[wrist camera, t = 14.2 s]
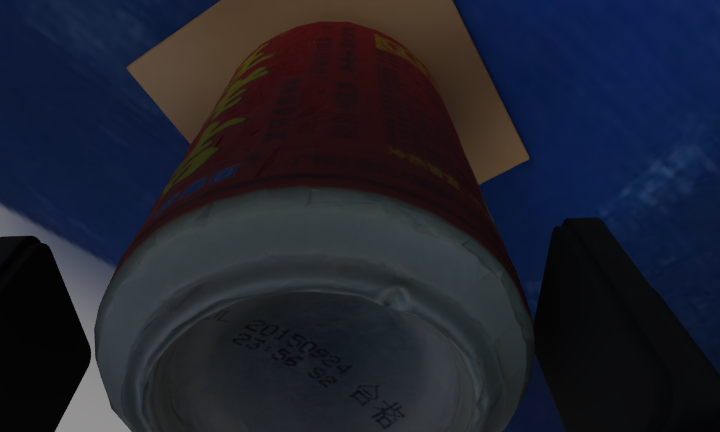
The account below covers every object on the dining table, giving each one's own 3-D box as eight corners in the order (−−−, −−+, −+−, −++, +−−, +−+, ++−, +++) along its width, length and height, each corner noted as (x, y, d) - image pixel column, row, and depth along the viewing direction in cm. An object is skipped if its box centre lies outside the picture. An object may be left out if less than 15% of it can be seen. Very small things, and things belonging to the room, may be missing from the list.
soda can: (360, 236, 21) (366, 583, 11) (195, 138, 19) (-2, 455, 8) (483, 93, 18) (660, 378, 8) (305, -43, 16) (211, 97, 5)
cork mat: (130, 63, 18) (125, 67, 18) (392, -121, 15) (393, -122, 15) (301, 268, 23) (300, 275, 22) (526, 153, 20) (530, 159, 19)
